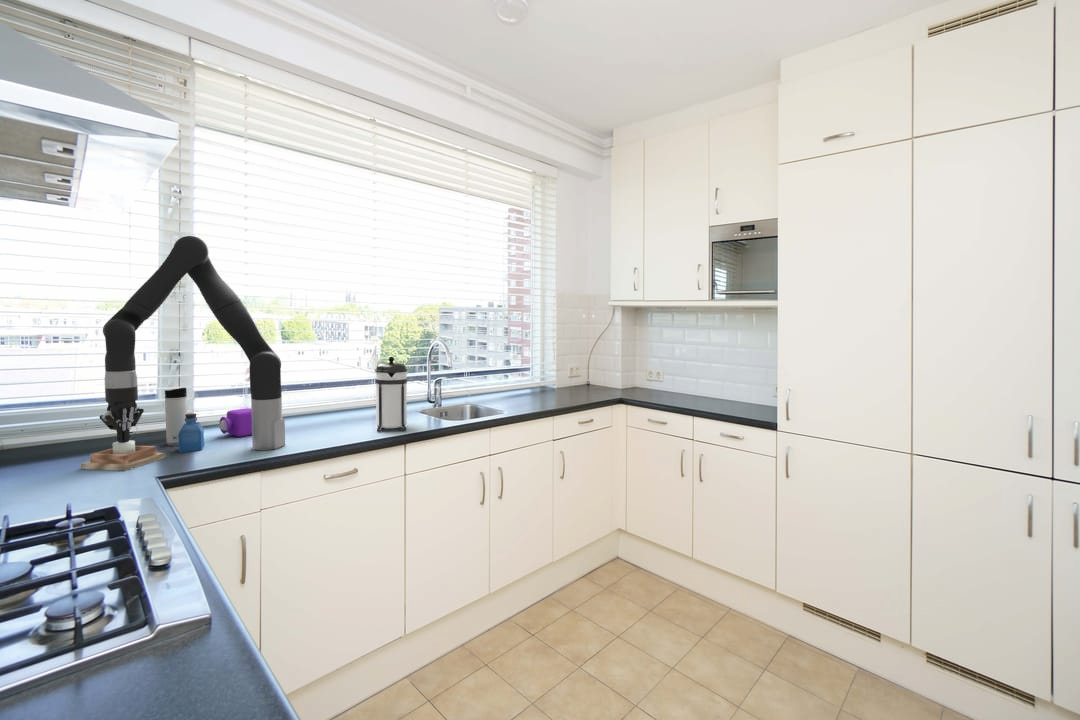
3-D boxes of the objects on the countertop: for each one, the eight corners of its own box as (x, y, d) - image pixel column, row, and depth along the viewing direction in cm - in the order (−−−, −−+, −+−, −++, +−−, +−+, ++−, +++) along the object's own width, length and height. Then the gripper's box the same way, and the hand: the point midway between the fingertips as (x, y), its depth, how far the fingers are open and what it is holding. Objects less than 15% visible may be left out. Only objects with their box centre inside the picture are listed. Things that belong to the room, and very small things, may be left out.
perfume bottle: (179, 452, 165) (177, 416, 164) (182, 448, 171) (181, 413, 170) (201, 450, 168) (200, 415, 167) (204, 446, 173) (203, 412, 173)
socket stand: (165, 457, 158) (164, 445, 158) (125, 470, 144) (125, 457, 144) (124, 456, 159) (123, 443, 159) (80, 468, 145) (80, 455, 145)
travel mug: (177, 446, 172) (175, 389, 171) (162, 445, 174) (159, 388, 172) (193, 442, 178) (191, 386, 177) (178, 441, 180) (176, 386, 178)
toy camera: (213, 437, 187) (212, 410, 186) (247, 430, 199) (246, 405, 198) (233, 440, 182) (232, 413, 182) (266, 432, 195) (265, 407, 194)
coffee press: (419, 428, 209) (419, 356, 207) (389, 434, 195) (389, 358, 193) (391, 422, 218) (391, 354, 216) (360, 429, 205) (360, 356, 202)
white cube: (140, 456, 154) (139, 440, 154) (124, 461, 149) (124, 444, 149) (124, 455, 155) (123, 439, 154) (108, 460, 149) (107, 443, 149)
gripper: (112, 389, 143) (115, 448, 145) (151, 383, 156) (153, 437, 158) (88, 388, 144) (91, 447, 145) (129, 382, 157) (131, 436, 158)
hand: (123, 442), depth 151 cm, fingers closed
